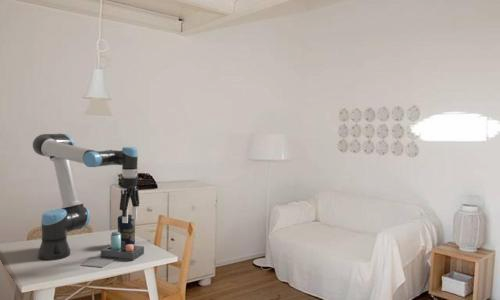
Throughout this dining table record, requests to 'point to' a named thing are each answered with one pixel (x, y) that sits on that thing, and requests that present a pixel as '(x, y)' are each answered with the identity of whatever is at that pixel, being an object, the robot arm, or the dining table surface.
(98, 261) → the mat
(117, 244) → the cylinder
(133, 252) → the housing
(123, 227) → the canister
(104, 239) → the dining table surface
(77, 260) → the dining table surface
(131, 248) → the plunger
